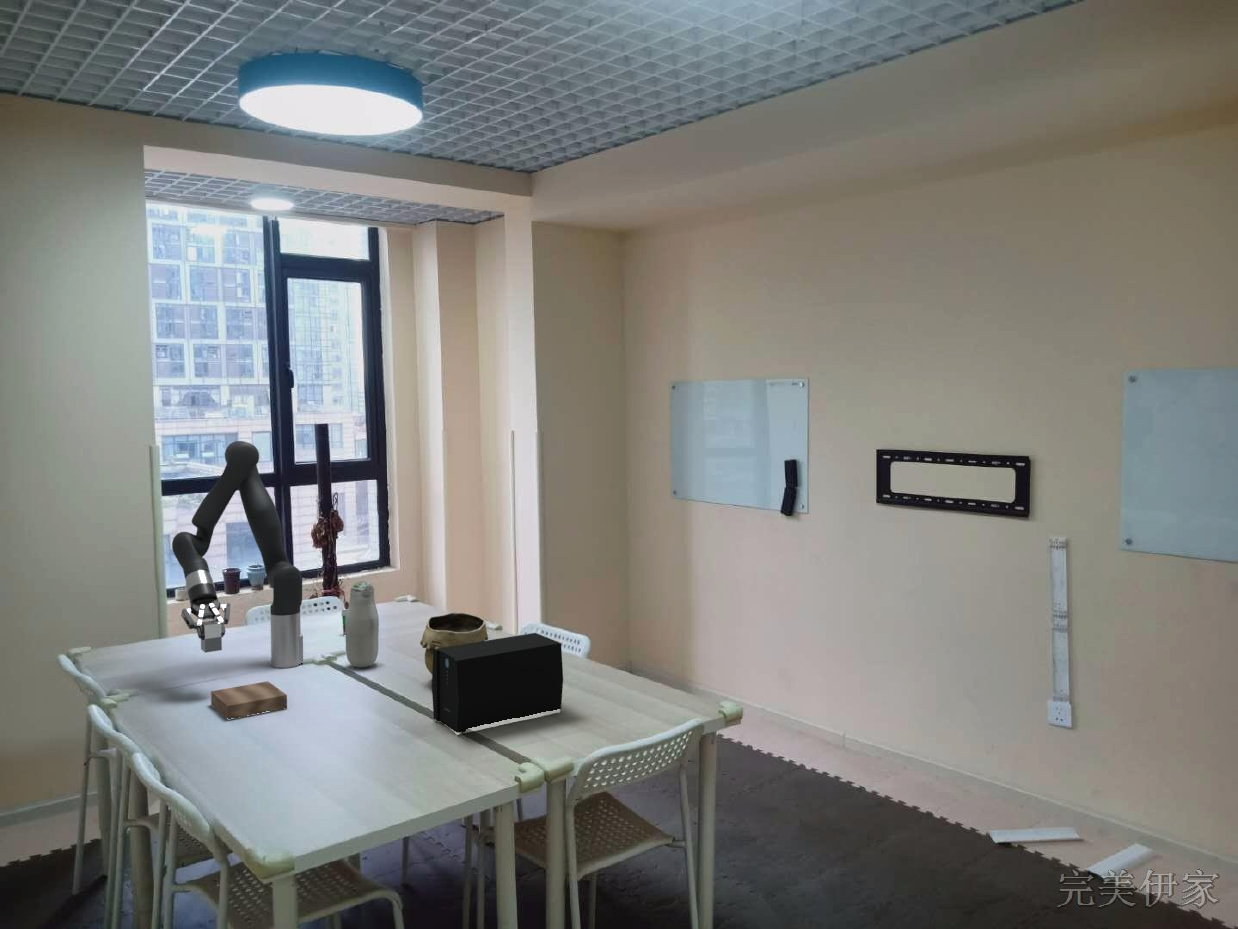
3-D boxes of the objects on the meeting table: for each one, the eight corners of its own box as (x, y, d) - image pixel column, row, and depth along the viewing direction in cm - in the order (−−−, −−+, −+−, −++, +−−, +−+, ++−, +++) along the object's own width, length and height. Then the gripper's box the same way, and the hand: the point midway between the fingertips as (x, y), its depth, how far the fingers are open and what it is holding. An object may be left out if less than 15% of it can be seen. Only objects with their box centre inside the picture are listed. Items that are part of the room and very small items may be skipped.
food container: (357, 638, 346) (356, 611, 345) (341, 637, 347) (341, 610, 347) (372, 630, 358) (372, 603, 357) (357, 629, 359) (357, 603, 359)
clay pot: (500, 686, 291) (500, 621, 289) (434, 697, 280) (434, 630, 278) (474, 669, 308) (474, 608, 307) (411, 678, 298) (410, 615, 296)
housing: (217, 646, 281) (216, 620, 280) (221, 650, 277) (221, 623, 277) (201, 649, 278) (200, 622, 278) (205, 652, 275) (204, 625, 274)
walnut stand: (268, 694, 280) (268, 681, 280) (287, 708, 268) (286, 695, 268) (211, 705, 270) (211, 691, 270) (228, 720, 258) (227, 706, 258)
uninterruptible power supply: (432, 719, 260) (431, 647, 259) (537, 698, 280) (538, 631, 279) (458, 737, 247) (458, 661, 246) (567, 713, 267) (568, 643, 265)
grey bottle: (340, 669, 307) (339, 583, 305) (359, 661, 317) (359, 577, 315) (365, 672, 303) (364, 585, 301) (384, 664, 313) (384, 580, 311)
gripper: (177, 584, 278) (188, 633, 269) (228, 579, 287) (240, 626, 278) (173, 599, 283) (184, 648, 274) (223, 593, 291) (236, 640, 283)
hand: (212, 637), depth 276 cm, fingers closed on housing, 4 cm apart
